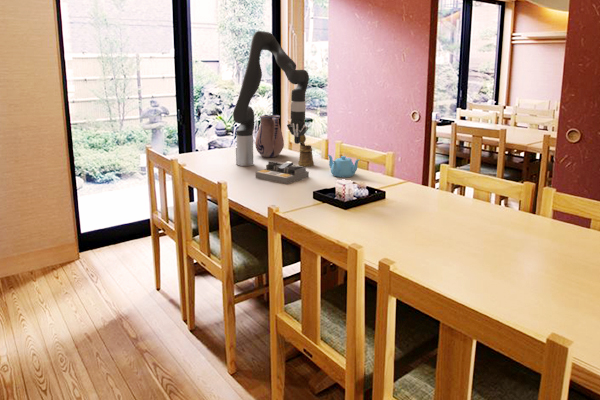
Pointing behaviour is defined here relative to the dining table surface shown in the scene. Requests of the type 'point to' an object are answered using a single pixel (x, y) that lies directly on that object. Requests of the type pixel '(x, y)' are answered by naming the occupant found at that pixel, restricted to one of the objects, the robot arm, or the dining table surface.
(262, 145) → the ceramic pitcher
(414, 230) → the dining table surface
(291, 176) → the switch unit
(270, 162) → the rocker
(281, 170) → the rocker
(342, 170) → the teapot
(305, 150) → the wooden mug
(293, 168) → the rocker
